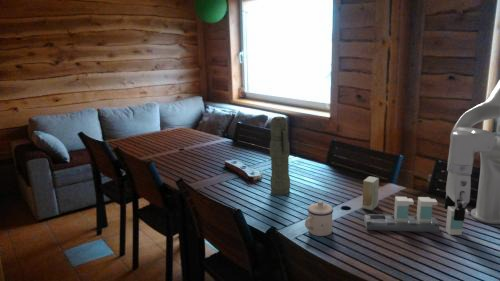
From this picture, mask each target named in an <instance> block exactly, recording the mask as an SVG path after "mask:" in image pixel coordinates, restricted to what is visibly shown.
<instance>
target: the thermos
mask: <svg viewBox="0 0 500 281" xmlns="http://www.w3.org/2000/svg"><path fill="white" fill-rule="evenodd" d="M288 126H289V125H288V121H287V119H286V117H284V116H273V118H271V121H270V136H271V138H270V142H269V157H270V160H271V162H270V164H271V176H270V189H271V190H270V193H271V194H272V195H273V196H278V197H279V196H280V197H282V196H283V197H284V196H288V195H289V194H290V193H291V189H290V188H291V177H290V175H289V174H290V165H289V164H290V163H289V158H290V142H289V136H288V135H289V133H288V132H289V131H288V129H289V128H288Z"/></svg>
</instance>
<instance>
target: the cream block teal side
mask: <svg viewBox="0 0 500 281" xmlns="http://www.w3.org/2000/svg"><path fill="white" fill-rule="evenodd" d="M416 204H417V205H416V206H417V207H416V215H417V218H416V220H417V222H418V223H431V218H432V216H433V206H438V201H437V200H436V198H431V197H429V196H426V197H425V196H418V197H417V203H416Z"/></svg>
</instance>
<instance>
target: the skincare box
mask: <svg viewBox="0 0 500 281" xmlns="http://www.w3.org/2000/svg"><path fill="white" fill-rule="evenodd" d="M362 182H363V183H362V209H365V210H369V211H373V210H374V209H376V208H377V207H378V205H379V187H380V186H379V183H380V178H379V177H375V176H367V177H366V178H365V179H363V181H362Z"/></svg>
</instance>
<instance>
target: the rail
mask: <svg viewBox="0 0 500 281" xmlns="http://www.w3.org/2000/svg"><path fill="white" fill-rule="evenodd" d="M416 218H417V214H415V215H414V214H408V223H406V222H395V220H394V214H381V213H379V214H377V213H376V214H375V213H364V220H363V222H364V225H365V229H366V231H386V232H387V231H388V232H389V231H393V232H421V233H423V232H426V233H439V232H440V226H441V225H440V222H439V221H438V219H436V217H435V215H432V218H431V223H418V222H417V220H416Z"/></svg>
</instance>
